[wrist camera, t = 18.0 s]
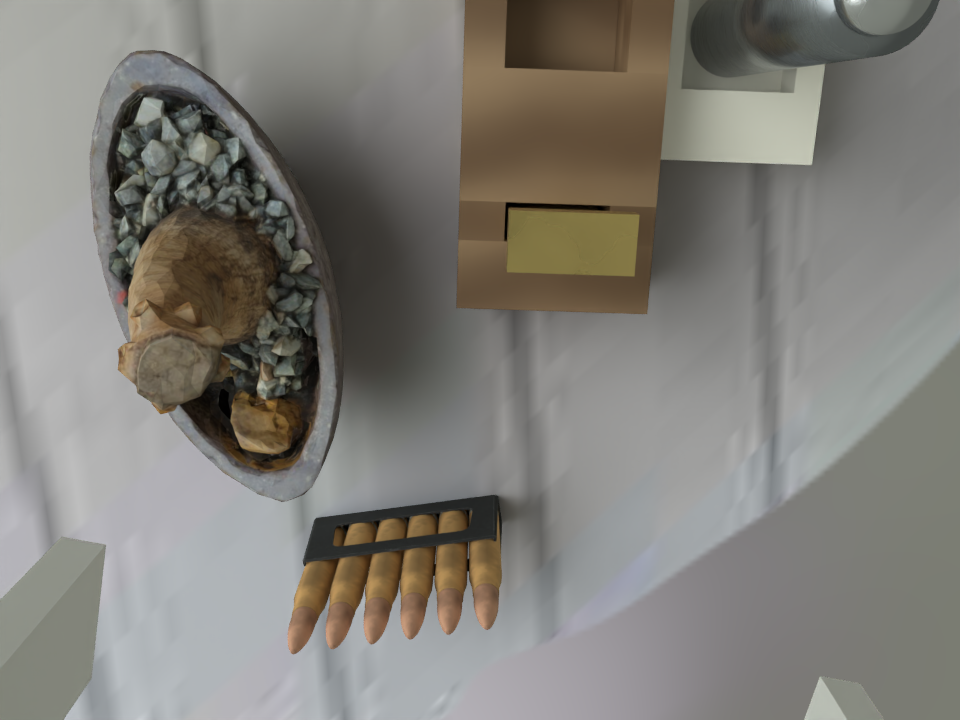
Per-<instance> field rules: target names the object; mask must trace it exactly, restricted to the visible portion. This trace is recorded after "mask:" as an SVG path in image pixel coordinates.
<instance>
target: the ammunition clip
mask: <svg viewBox="0 0 960 720" xmlns="http://www.w3.org/2000/svg"><path fill="white" fill-rule="evenodd" d="M501 534H502V520H501V513H500V506H499V499H498V497H497V496H496V495H490V496H482V497H474V498H467V499H459V500H451V501H444V502H436V503H428V504H421V505H413V506H405V507H398V508H390V509H382V510H375V511H367V512H359V513H352V514H344V515H336V516H329V517H321V518H316V519H315V520H314V524H313V527H312V531H311V534H310V538H309V541H308V545H307V549H306V552H305V556H304V559H303V564H304V566H305V569H304V571H303V574H302V577H301V580H300V583H299V585H298V588H297V591H296V594H295V597H294V609H293V613H292V618H291V621H290V624H289V630H288V647H289V650H290V652H291V653H292V654H296V653H297V652H299V651H300V650H301V649H302V648H303V647H304V646H305V644H306V643H307V642H308V640H309V638H310V636H311V634H312V632H313V630H314V627H315V624H316V623H317V620H318V618H319V615H320V614H321V612H322V611H323V610H324V608H325V606H326V603H327V600H328V597H329V594H330V605H329V610H328V611H329V613H328V617H327V622H326V639H327V643H328V646H329V647H330V648H331V649H335V648H336V647H338V646H339V645H340V644H341V643H342V641H343V640H344V638H345V637H346V635H347V633H348V631H349V628H350V626H351V623H352V619H353V617H354V614H355V611H356V609H357V607H358V606H359V604H360V602H361V599H362V596H363V592H364V588H365V596H366V603H365V613H364V632H365V636H366V639H367V641H368V642H369V643H370V644H374V643H376V642H377V641H378V640H379V638H380V637H381V636H382V634H383V632H384V630H385V628H386V625H387V622H388V619H389V615H390V611H391V608H392V604H393V602H394V600H395V598H396V596H397V593H398V587H399V581H400V592H401V625H402V629H403V632H404V634H405V636H406V637H407V638H408V639H413V638H414V637H415V636H416V635H417V633H418V632H419V630H420V628H421V626H422V623H423V620H424V617H425V612H426V607H427V602H428V598H429V596H430V593H431V591H432V585H433V576H435V588H436V591H437V612H438V618H439V622H440V625H441V627H442V629H443V631H444V632H445V633H446V634H447V635H449V634H451V633H452V632H453V631H454V630H455V628H456V626H457V624H458V622H459V619H460V616H461V611H462V602H463V595H464V591H465V589H466V586H467V571H469V580H470V583H471V586H472V590H473V597H474V608H475V612H476V615H477V618H478V621H479V623H480V624H481V626H482V627H483V628H484V629H486V630H488V629H490V628H491V627H492V625H493V624H494V621H495V619H496V616H497V612H498V604H499V587H500V584H501V579H502V569H501ZM468 541H469V559H467V556H468ZM436 546H437V553H436ZM435 553H436V564H435ZM403 557H404V558H403ZM402 563H403V565H402ZM369 567H370V568H369ZM368 571H369V573H368ZM365 584H366V587H365Z"/></svg>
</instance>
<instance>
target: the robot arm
mask: <svg viewBox="0 0 960 720" xmlns="http://www.w3.org/2000/svg"><path fill="white" fill-rule="evenodd" d="M105 549H106V545H104V544H98V543H93V542H88V541H82V540H77V539H71V538H66V537H61V538H60V539H59V540H58V541H57V542H56V543H55V544H54V545H53V546H52V547H51V548H50V549H49V550H48V551H47V553H46V554H45V555H44V556H43V557H42V558H41V559H40V560H39V561H38V562H37V563H36V564H35V565H34V566H33V567H32V568H31V569H30V570H29V571H28V572H27V573H26V574H25V575H24V576H23V577H22V578H21V579H20V580H19V581H18V582H17V583H16V584H15V585H14V586H13V587H12V588H11V590H10V591H9V592H8V593H7V594H6V595H5V596H4V597H3V598H2V599H1V600H0V720H64V718H65V717H66V715H67V714H68V712H69V711H70V709H71V708H72V706H73V705H74V703H75V702H76V700H77V699H78V697H79V696H80V694H81V693H82V691H83V690H84V688H85V687H86V686H87V684H88V683H89V681H90V680H91V677H92V668H93V659H94V650H95V640H96V631H97V622H98V613H99V604H100V594H101V585H102V576H103V567H104V558H105ZM804 720H884V718H883V717H882V715H881V714H880V713H879V711H878V710H877V708H876V707H875V706H874V704H873V702H872V701H871V699H870V698H869V696H868V695H867V694H866V692H865V691H864V689H863V688H862V686H861V685H860V683H855V682H849V681H844V680H839V679H833V678H828V677H822V676H820V678H819V681H818V684H817V686H816V689H815V692H814V695H813V697H812V700H811V703H810V705H809V708H808V711H807V714H806V716H805V719H804Z"/></svg>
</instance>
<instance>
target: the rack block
mask: <svg viewBox="0 0 960 720" xmlns="http://www.w3.org/2000/svg"><path fill="white" fill-rule="evenodd" d="M707 1H708V0H675V2H674V14H673V25H672V36H671V48H670V59H669V70H668V82H667V93H666V104H665V116H664V127H663V139H662V150H661V160H683V161H711V162H740V163H768V164H796V165H812V160H813V152H814V145H815V137H816V130H817V122H818V115H819V107H820V100H821V92H822V85H823V77H824V70H825V64H821V65H814V66H807V67H800V68H793V69H786V70H780V71H773V72H766V73H759V74H752V75H745V76H738V77H729V78H726V77H720V76H716V75H713V74H711V73H710V72H708V71H706V70H705V69H704V68H703V67H702V66H701V65H700V64H699V63H698V61H697V60H696V58H695V56H694V54H693V51H692V47H691V41H690V33H691V27H692V23H693V20H694V18H695V16H696V14H697V12H698V11H699V9H700V8H701V7H702V6H703V4H704V3H705V2H707Z"/></svg>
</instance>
